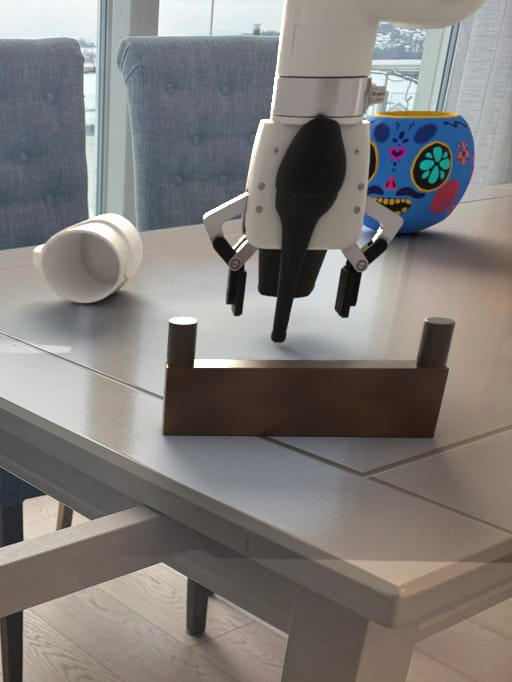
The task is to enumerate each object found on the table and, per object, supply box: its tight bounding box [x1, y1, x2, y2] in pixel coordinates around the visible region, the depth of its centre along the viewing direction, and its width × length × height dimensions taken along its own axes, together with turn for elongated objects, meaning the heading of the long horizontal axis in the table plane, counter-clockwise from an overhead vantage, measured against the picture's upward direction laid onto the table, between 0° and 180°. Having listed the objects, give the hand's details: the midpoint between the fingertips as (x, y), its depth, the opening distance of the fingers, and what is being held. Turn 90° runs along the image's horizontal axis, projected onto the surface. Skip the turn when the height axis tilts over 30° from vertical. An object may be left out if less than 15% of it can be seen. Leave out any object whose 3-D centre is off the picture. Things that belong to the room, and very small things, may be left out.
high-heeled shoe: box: [257, 117, 346, 344], centre depth 85 cm, size 8×19×20 cm, turn 167°
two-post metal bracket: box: [161, 316, 456, 438], centre depth 67 cm, size 20×2×8 cm, turn 86°
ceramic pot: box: [363, 110, 476, 235], centre depth 131 cm, size 18×18×15 cm
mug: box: [32, 213, 144, 304], centre depth 104 cm, size 12×9×8 cm
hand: (288, 313), depth 87 cm, fingers open, 9 cm apart
